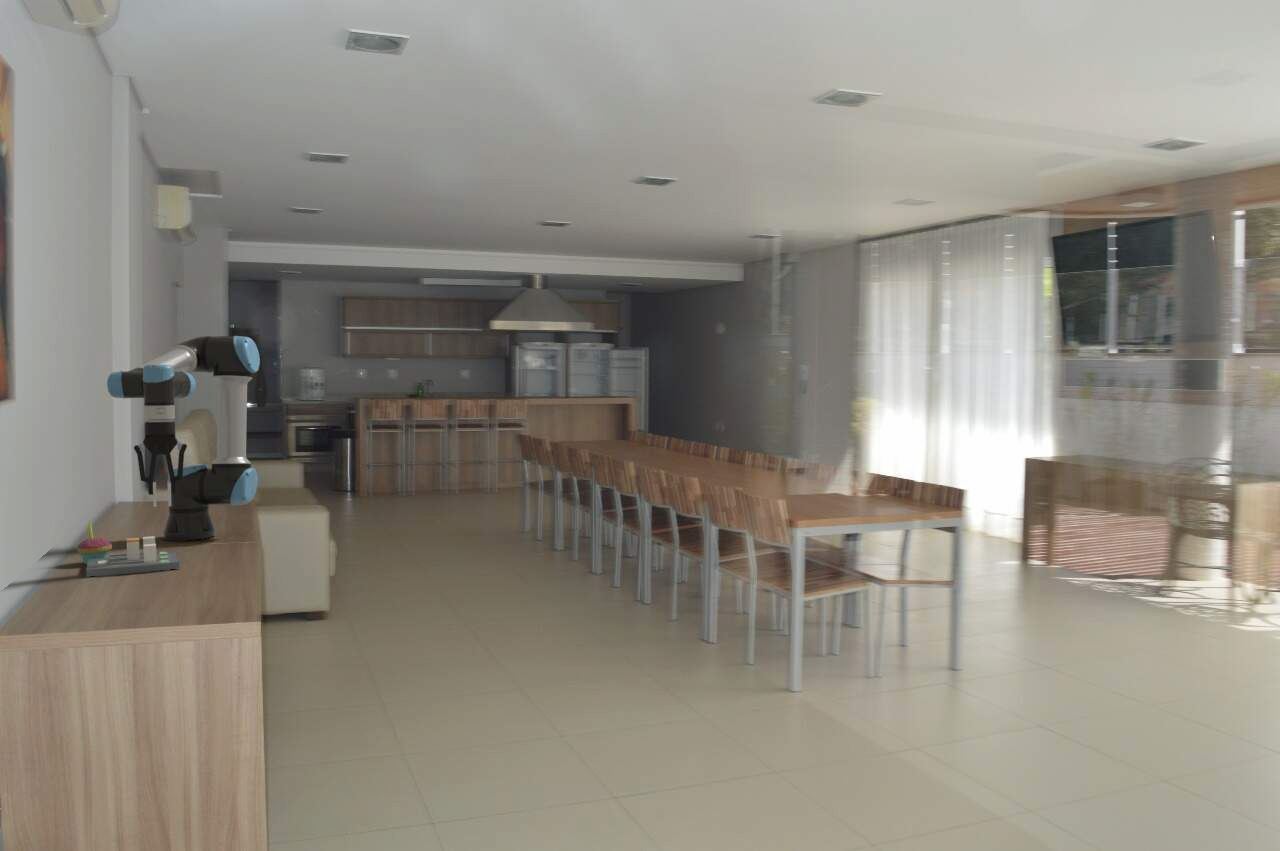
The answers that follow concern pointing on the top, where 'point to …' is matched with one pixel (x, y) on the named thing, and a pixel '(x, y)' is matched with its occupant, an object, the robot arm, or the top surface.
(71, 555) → the top surface
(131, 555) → the breaker handle
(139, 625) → the top surface
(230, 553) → the top surface
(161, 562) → the panel
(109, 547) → the cupcake
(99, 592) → the top surface
